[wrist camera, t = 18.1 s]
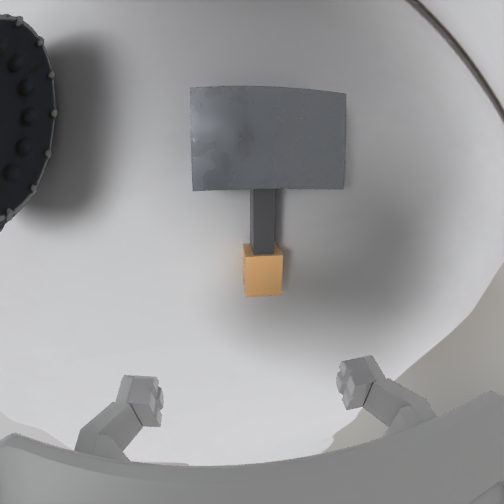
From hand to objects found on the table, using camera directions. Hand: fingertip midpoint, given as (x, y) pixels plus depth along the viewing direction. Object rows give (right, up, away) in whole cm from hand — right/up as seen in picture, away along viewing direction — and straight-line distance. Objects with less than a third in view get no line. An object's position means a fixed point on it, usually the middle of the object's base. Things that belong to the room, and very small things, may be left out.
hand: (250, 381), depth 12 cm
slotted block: (+1, +17, +15) cm, 22 cm away
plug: (+1, +11, +17) cm, 20 cm away
